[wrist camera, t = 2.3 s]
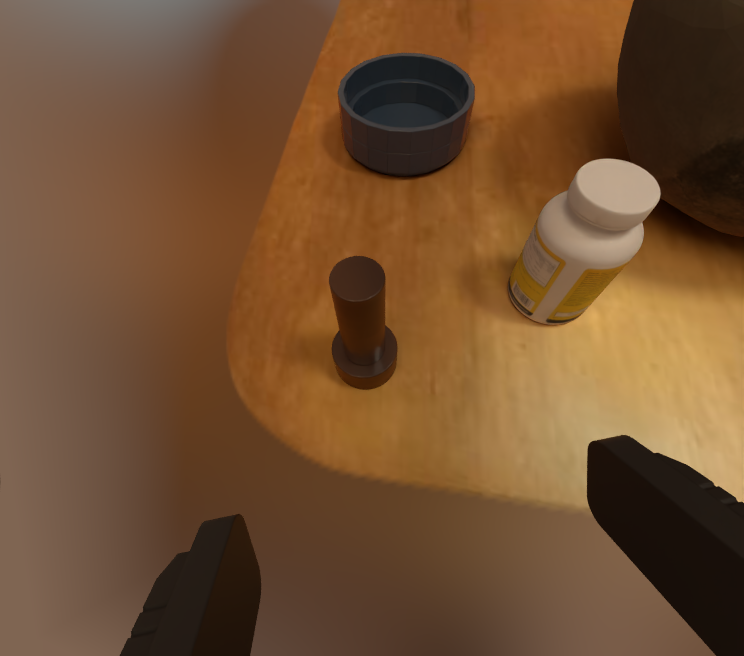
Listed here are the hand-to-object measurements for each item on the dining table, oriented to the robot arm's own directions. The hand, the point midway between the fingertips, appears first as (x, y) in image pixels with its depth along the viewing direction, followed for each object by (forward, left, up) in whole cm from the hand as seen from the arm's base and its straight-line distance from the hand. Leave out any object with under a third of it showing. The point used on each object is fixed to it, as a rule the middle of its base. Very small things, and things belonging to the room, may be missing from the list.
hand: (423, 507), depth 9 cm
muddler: (0, +12, -18) cm, 21 cm away
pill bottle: (+16, +15, -18) cm, 28 cm away
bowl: (+9, +38, -18) cm, 42 cm away
